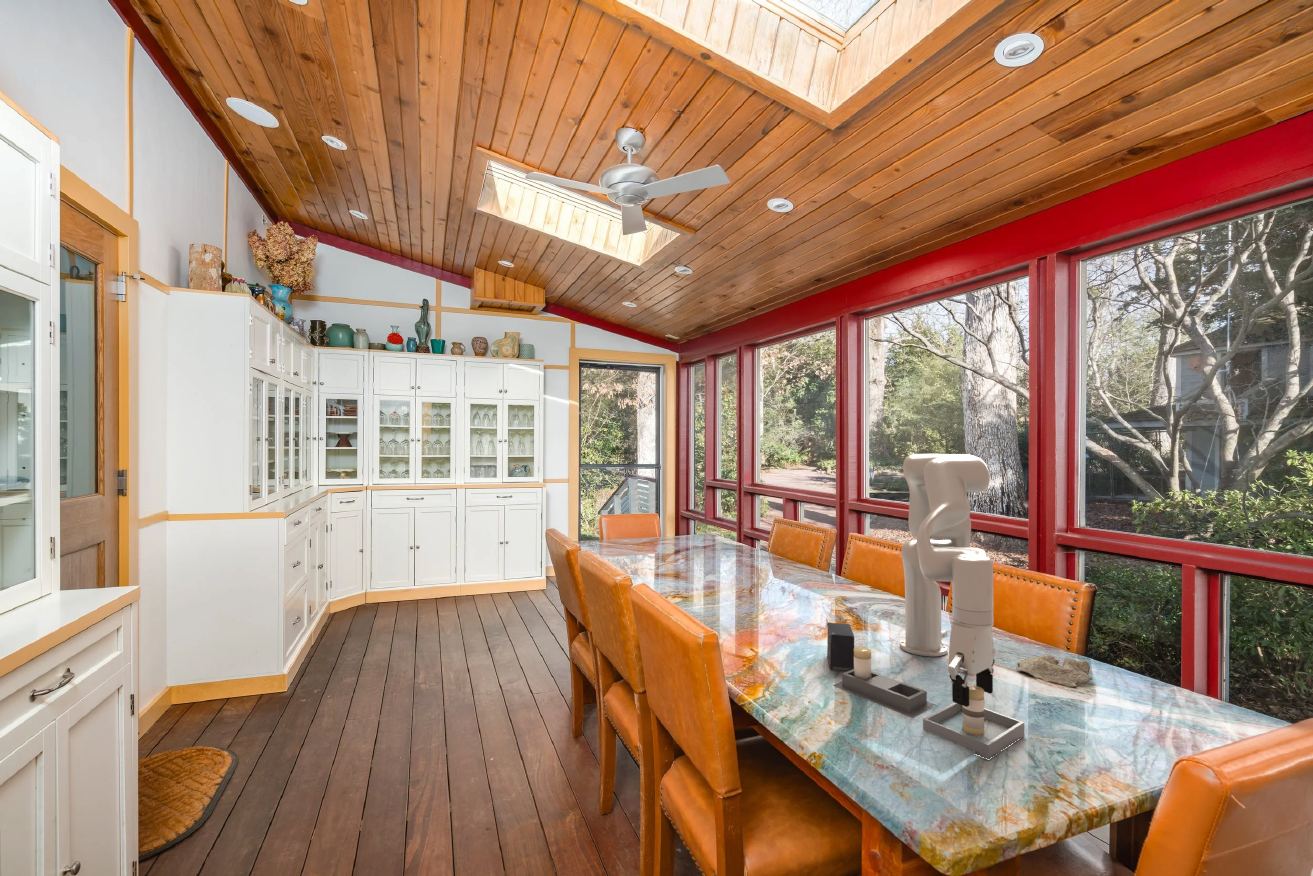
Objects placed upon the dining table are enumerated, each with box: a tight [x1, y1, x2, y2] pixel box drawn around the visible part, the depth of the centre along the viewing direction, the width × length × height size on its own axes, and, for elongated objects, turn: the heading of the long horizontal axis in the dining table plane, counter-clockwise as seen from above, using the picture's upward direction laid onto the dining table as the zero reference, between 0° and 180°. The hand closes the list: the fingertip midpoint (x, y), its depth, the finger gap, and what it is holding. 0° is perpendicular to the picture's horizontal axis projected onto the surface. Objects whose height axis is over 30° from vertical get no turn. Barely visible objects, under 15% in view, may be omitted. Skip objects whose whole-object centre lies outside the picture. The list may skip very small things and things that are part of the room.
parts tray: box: [922, 702, 1025, 759], centre depth 124 cm, size 15×13×3 cm
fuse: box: [854, 646, 872, 681], centre depth 145 cm, size 4×4×9 cm
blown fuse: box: [961, 684, 985, 736], centre depth 124 cm, size 4×4×9 cm
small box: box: [826, 621, 855, 672], centre depth 160 cm, size 11×6×10 cm, turn 168°
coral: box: [1015, 653, 1093, 688], centre depth 155 cm, size 18×16×5 cm
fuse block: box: [832, 669, 938, 719], centre depth 141 cm, size 10×21×4 cm, turn 36°
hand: (972, 697), depth 124 cm, fingers open, 9 cm apart
